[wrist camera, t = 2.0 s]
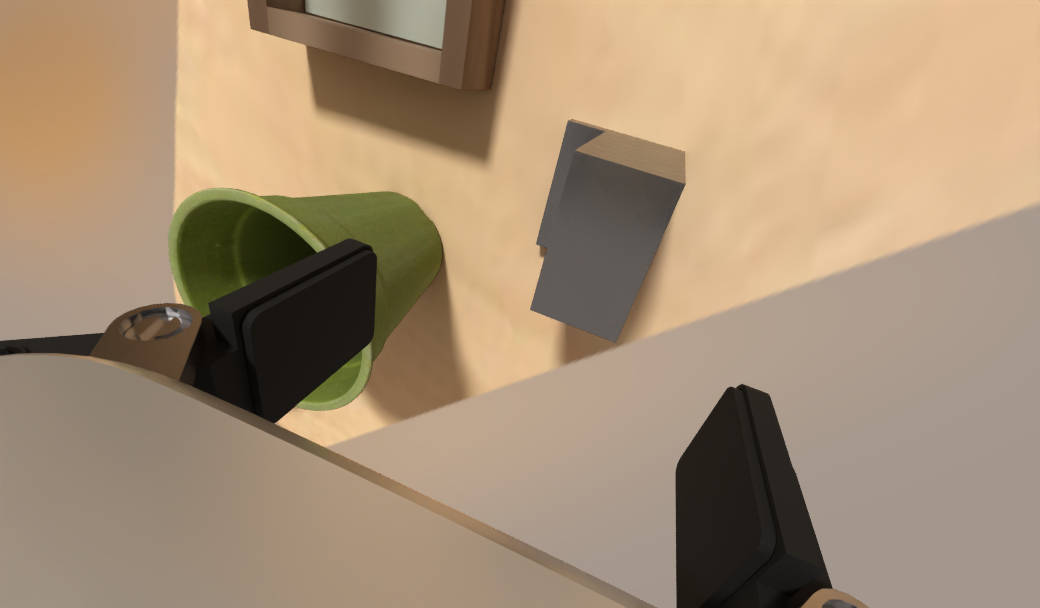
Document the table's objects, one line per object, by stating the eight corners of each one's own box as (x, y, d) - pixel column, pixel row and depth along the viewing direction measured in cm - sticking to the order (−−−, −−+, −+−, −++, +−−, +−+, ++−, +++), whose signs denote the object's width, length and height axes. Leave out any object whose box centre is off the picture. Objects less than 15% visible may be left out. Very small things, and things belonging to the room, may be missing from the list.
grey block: (684, 151, 20) (685, 184, 14) (634, 271, 24) (615, 342, 18) (572, 119, 22) (523, 134, 15) (540, 239, 25) (489, 294, 19)
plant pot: (501, 297, 28) (411, 403, 19) (378, 324, 34) (260, 417, 24) (429, 123, 24) (269, 147, 15) (302, 184, 30) (127, 231, 20)
